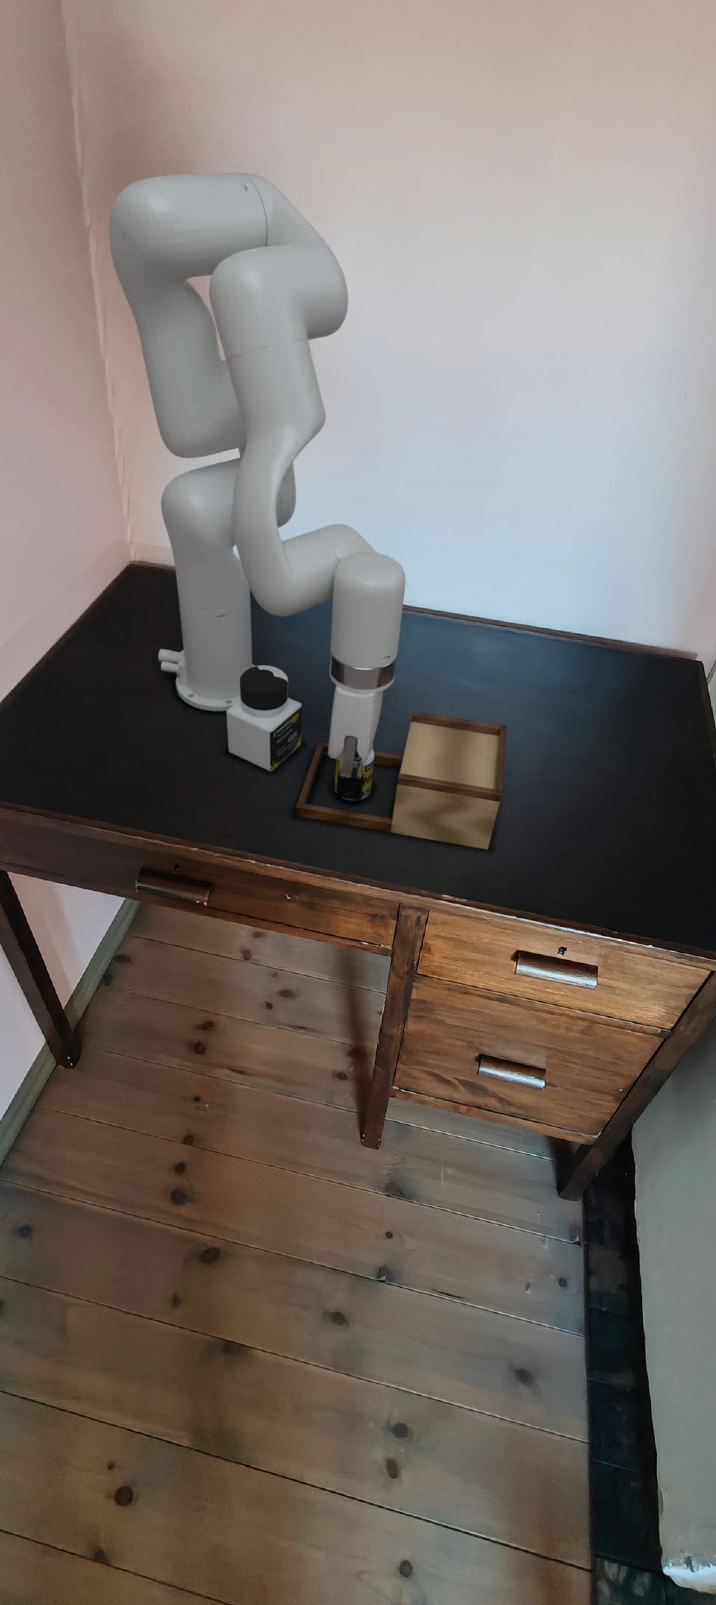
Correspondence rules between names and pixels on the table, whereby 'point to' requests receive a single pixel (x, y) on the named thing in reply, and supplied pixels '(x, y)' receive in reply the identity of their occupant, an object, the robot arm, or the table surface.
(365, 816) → the shelf rack
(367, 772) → the supplement bottle
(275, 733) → the medicine bottle
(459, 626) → the table surface
